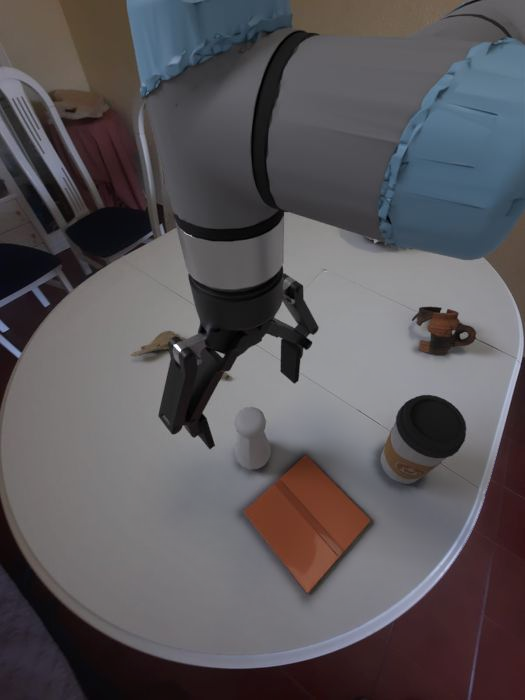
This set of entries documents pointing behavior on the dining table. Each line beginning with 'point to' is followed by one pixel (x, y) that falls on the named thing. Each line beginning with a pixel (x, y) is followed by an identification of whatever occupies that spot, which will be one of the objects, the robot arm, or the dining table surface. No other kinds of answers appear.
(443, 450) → the coffee cup
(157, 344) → the curved driftwood piece
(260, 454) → the salt shaker
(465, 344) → the pottery mug
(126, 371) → the dining table surface
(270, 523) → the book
